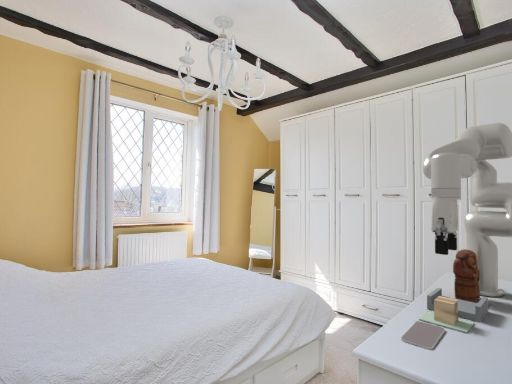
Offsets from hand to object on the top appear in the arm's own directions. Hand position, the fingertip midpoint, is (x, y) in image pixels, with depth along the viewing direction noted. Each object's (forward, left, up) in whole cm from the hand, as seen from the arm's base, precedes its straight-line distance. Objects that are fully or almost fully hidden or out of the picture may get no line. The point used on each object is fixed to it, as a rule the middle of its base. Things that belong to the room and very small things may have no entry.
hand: (446, 251), depth 88 cm
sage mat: (+1, 0, -21) cm, 21 cm away
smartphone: (+15, -2, -21) cm, 26 cm away
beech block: (0, 0, -20) cm, 20 cm away
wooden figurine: (-27, 0, -21) cm, 34 cm away
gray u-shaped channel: (-12, 0, -21) cm, 24 cm away
